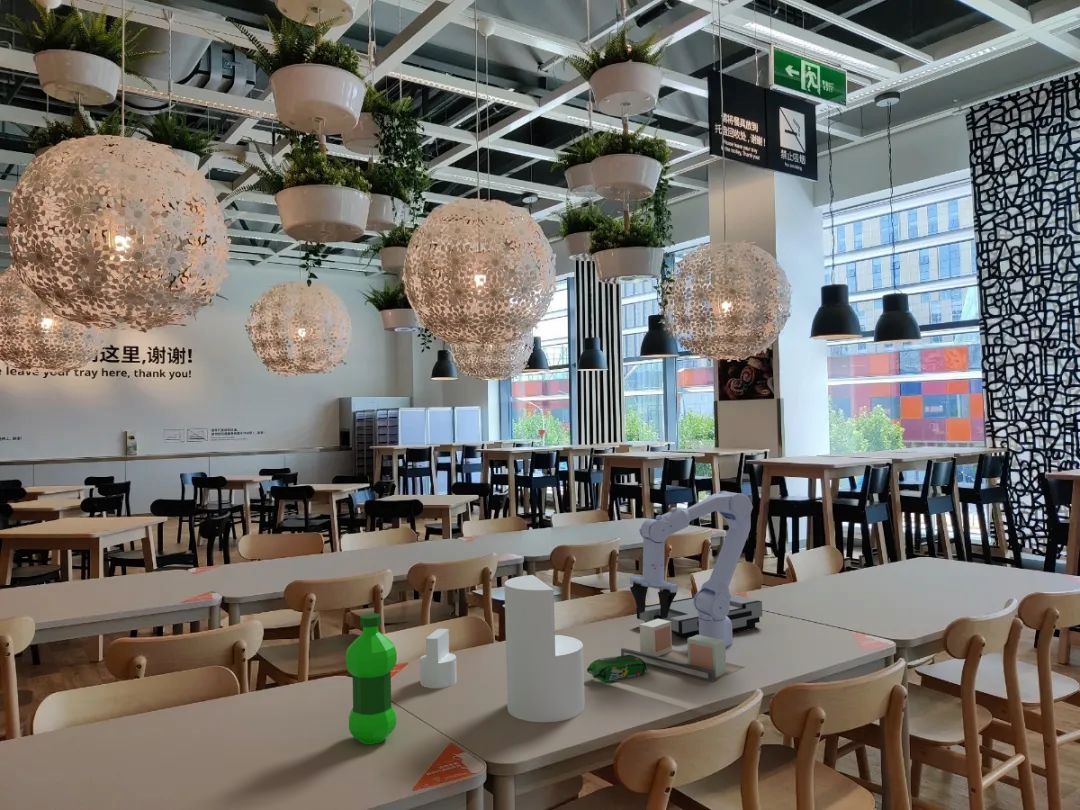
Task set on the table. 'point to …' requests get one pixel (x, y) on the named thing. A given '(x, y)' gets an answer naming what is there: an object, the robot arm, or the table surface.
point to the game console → (687, 617)
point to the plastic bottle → (371, 682)
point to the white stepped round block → (540, 656)
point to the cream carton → (656, 637)
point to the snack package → (617, 668)
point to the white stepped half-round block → (438, 661)
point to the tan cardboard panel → (680, 664)
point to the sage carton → (707, 653)
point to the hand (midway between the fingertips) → (652, 615)
